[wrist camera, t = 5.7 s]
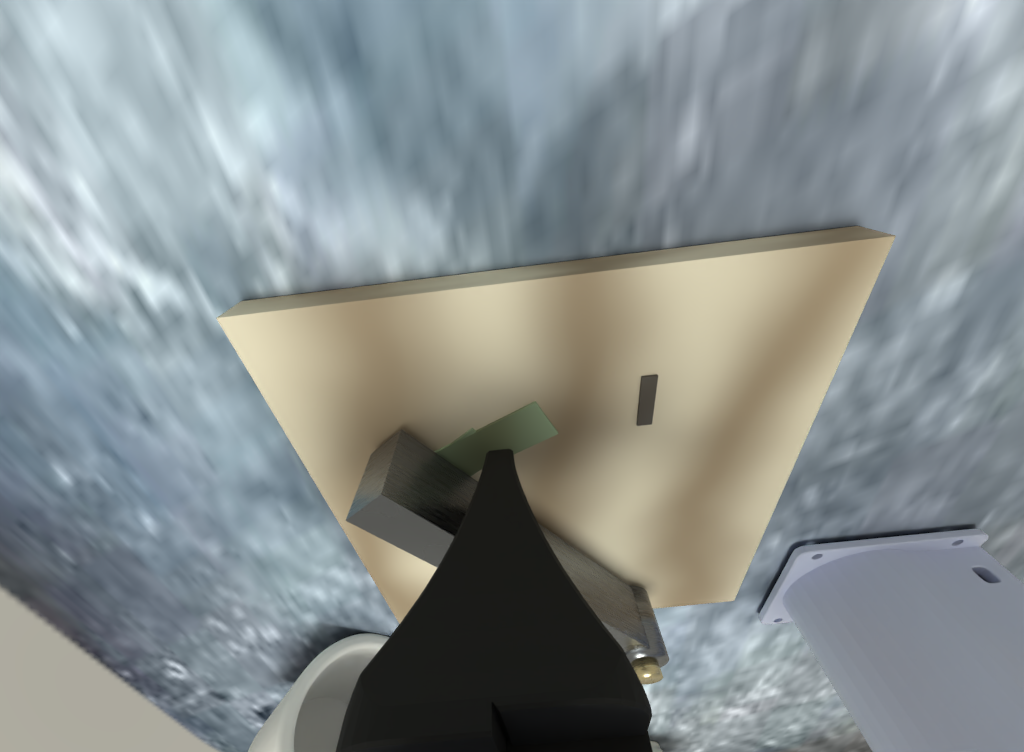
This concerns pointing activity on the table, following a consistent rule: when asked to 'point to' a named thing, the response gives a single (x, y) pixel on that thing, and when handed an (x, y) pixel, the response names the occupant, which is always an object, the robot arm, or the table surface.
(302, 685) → the mug
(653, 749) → the lidded jar
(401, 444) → the pointer
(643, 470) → the board
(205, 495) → the table surface
